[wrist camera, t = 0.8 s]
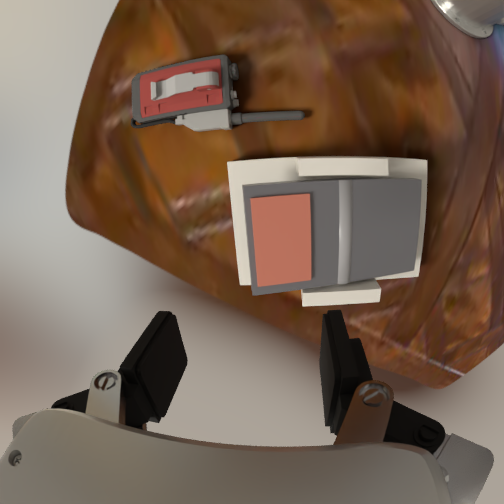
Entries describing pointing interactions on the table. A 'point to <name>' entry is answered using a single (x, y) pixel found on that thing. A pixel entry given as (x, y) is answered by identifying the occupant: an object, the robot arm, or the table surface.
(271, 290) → the rocker
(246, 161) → the switch housing
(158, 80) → the walkie-talkie
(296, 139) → the table surface
